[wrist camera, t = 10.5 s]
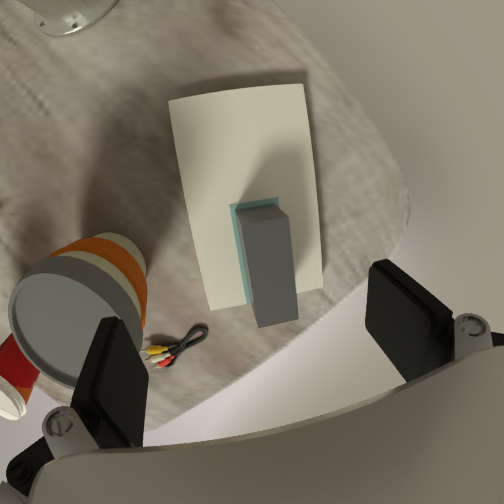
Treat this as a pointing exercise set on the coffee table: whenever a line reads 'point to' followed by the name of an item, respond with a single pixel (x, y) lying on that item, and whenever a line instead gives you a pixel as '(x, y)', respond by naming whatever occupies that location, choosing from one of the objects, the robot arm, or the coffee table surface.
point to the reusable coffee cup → (77, 302)
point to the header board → (246, 180)
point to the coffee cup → (15, 379)
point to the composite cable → (173, 349)
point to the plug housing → (268, 263)
